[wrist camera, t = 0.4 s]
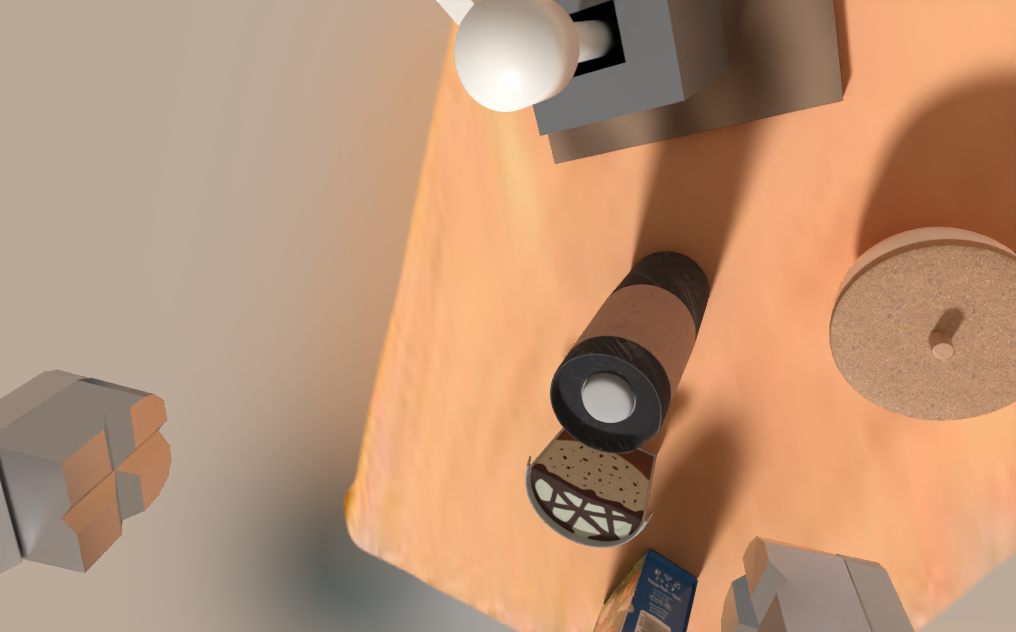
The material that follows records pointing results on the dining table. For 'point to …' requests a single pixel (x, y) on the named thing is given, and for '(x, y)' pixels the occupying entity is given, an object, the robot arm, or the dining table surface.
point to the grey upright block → (639, 60)
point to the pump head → (522, 49)
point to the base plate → (734, 79)
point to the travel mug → (632, 355)
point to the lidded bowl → (929, 324)
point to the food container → (590, 491)
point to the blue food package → (650, 599)
